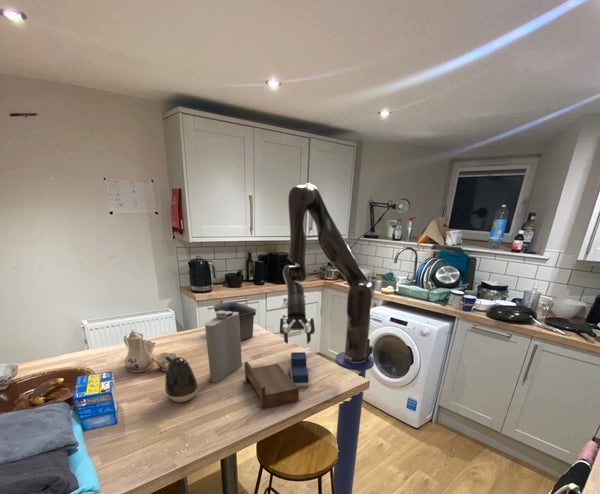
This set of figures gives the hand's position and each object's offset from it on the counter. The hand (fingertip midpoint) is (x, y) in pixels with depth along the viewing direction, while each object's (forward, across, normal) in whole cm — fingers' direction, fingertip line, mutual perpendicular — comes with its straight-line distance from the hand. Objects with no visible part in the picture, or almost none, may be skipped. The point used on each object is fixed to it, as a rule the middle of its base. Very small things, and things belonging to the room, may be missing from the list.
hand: (297, 342), depth 134 cm
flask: (+11, -28, +4) cm, 31 cm away
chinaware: (+6, -61, +10) cm, 62 cm away
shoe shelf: (+21, -11, -6) cm, 25 cm away
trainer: (+14, 0, 0) cm, 14 cm away
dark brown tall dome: (+24, -41, -9) cm, 48 cm away
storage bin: (-17, -29, +32) cm, 46 cm away
